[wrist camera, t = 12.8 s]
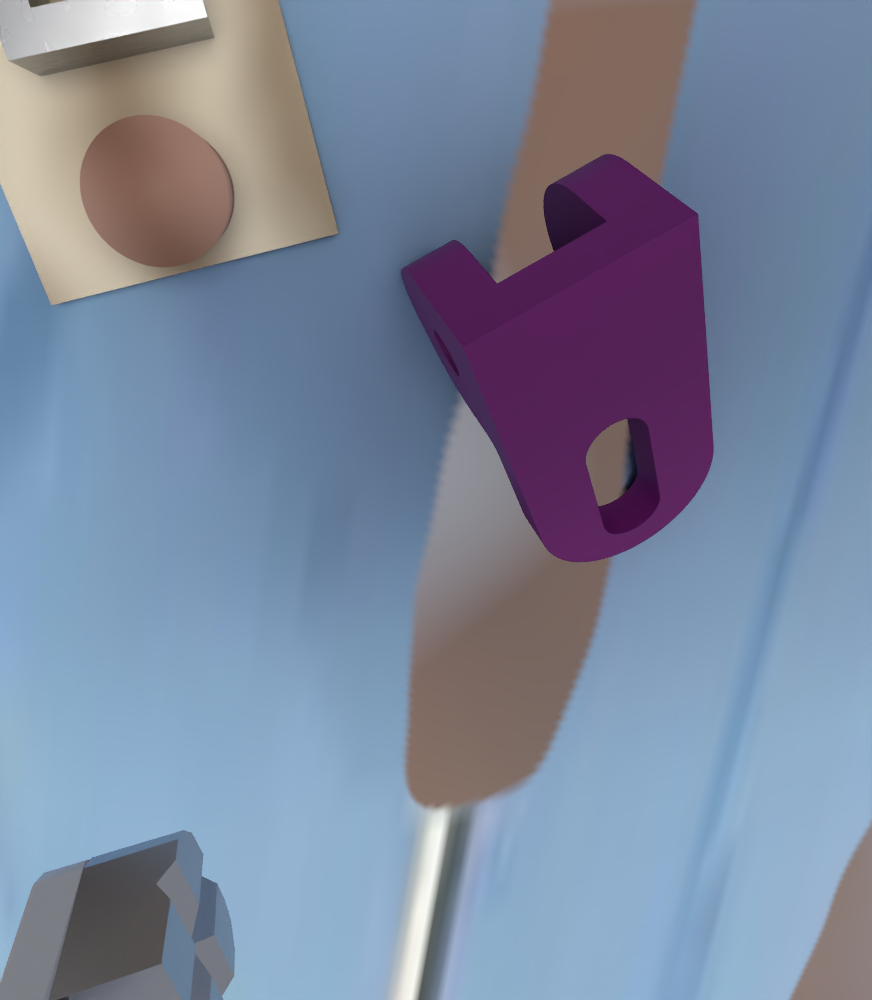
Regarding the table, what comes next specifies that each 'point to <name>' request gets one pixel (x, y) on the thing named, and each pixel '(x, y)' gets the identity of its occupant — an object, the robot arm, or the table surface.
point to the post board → (181, 92)
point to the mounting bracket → (584, 355)
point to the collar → (95, 30)
